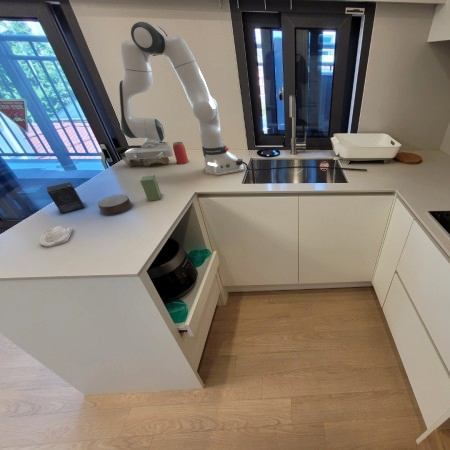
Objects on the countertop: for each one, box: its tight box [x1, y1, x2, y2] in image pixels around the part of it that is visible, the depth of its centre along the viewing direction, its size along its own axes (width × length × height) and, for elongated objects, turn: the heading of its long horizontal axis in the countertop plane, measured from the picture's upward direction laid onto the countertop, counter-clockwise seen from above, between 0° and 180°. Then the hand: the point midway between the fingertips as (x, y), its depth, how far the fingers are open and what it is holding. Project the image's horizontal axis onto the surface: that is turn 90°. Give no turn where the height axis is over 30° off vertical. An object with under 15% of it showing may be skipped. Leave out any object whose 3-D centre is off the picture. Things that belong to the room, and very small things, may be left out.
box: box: [46, 181, 85, 214], centre depth 101 cm, size 8×6×11 cm
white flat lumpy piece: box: [38, 225, 73, 248], centre depth 85 cm, size 10×4×10 cm
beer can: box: [172, 141, 189, 165], centre depth 150 cm, size 7×7×12 cm
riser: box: [97, 194, 133, 216], centre depth 103 cm, size 11×11×4 cm
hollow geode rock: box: [114, 144, 170, 167], centre depth 145 cm, size 28×13×15 cm
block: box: [140, 174, 163, 202], centre depth 110 cm, size 5×5×10 cm
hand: (147, 157), depth 114 cm, fingers open, 8 cm apart
